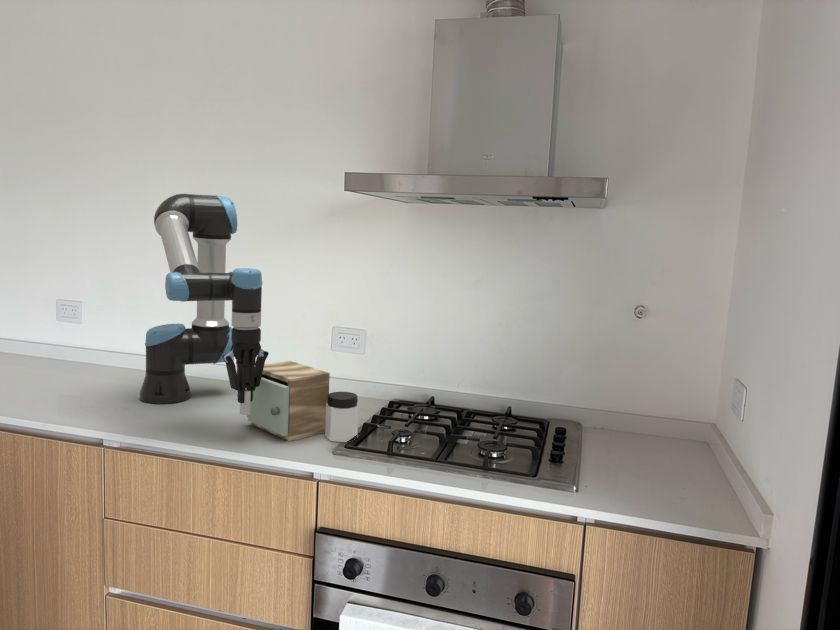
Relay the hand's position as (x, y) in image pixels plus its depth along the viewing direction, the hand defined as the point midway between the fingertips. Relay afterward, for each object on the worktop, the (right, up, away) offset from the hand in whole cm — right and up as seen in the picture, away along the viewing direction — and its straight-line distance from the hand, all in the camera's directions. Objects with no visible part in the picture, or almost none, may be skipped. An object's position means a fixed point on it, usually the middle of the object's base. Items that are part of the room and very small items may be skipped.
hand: (245, 413), depth 179 cm
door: (+4, -4, +4) cm, 7 cm away
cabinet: (+10, -6, +10) cm, 15 cm away
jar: (+25, -7, +5) cm, 27 cm away
